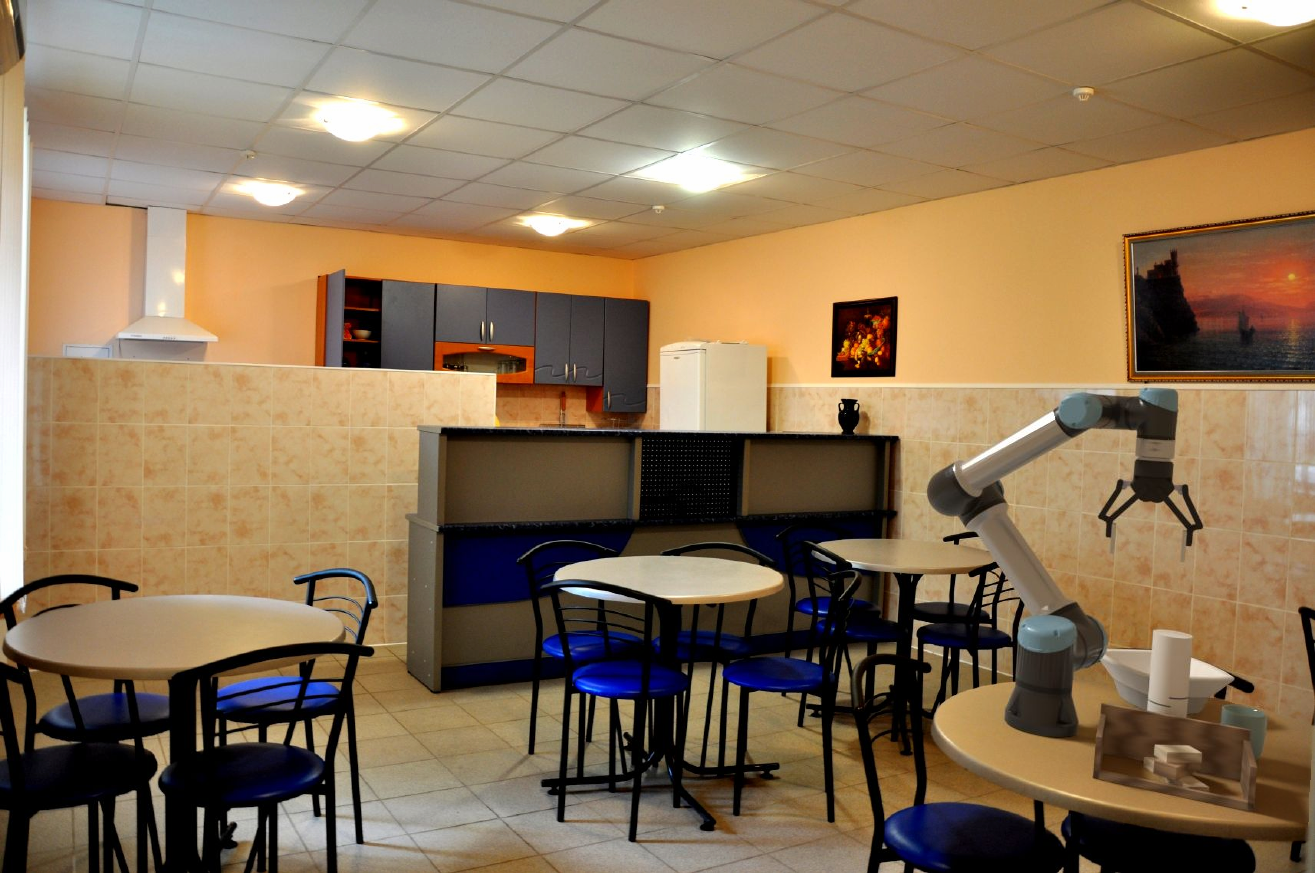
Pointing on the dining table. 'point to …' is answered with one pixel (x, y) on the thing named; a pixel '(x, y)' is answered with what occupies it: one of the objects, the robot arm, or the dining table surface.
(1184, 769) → the offcut middle
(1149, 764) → the offcut bottom
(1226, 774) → the rack
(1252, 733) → the cup
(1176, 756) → the offcut top
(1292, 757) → the dining table surface
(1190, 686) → the bowl
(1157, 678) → the cylindrical container
